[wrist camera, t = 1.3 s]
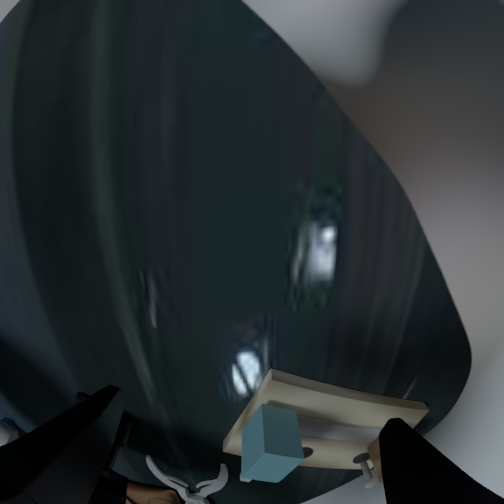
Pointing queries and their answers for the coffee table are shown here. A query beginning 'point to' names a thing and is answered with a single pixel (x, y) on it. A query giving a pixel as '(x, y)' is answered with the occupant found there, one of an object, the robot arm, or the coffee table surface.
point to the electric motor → (7, 431)
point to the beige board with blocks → (330, 421)
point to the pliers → (193, 500)
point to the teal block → (270, 445)
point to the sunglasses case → (150, 494)
